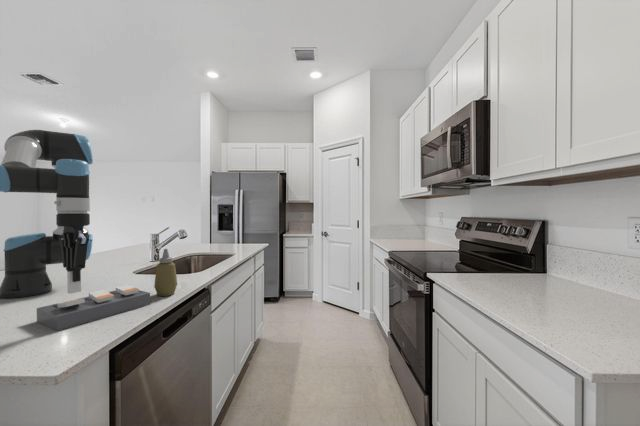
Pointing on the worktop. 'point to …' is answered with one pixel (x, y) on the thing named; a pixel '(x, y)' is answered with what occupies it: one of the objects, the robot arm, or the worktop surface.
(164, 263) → the squeeze bottle
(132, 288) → the rocker
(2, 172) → the robot arm
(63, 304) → the rocker
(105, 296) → the middle rocker
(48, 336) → the worktop surface
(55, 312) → the power strip
